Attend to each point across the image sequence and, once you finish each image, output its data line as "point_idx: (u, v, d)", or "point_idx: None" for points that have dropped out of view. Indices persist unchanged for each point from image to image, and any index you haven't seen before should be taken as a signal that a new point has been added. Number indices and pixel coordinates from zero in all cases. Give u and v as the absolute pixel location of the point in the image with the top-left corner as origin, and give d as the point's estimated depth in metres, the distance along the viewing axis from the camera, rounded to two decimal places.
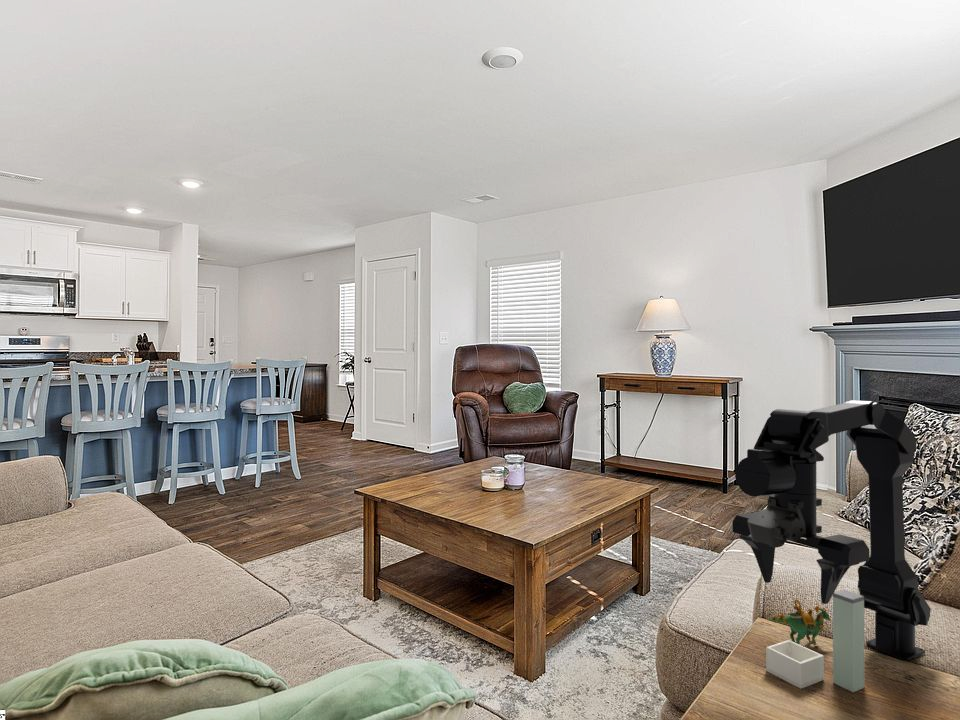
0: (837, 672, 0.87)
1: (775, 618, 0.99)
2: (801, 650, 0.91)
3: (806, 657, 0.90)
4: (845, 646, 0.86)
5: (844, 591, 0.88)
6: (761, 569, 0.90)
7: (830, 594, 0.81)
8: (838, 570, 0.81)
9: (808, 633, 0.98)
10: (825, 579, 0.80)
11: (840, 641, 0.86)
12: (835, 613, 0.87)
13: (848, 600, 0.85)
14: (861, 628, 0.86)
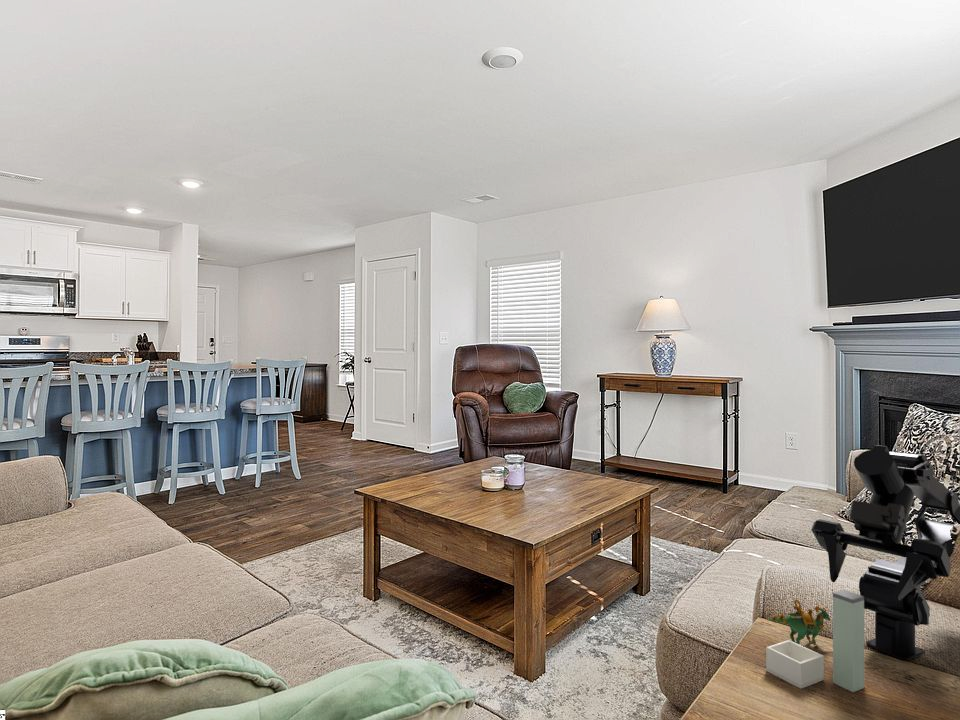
0: (837, 672, 0.87)
1: (775, 618, 0.99)
2: (801, 650, 0.91)
3: (806, 657, 0.90)
4: (845, 646, 0.86)
5: (844, 591, 0.88)
6: (831, 566, 0.95)
7: (904, 593, 0.87)
8: (916, 576, 0.88)
9: (808, 633, 0.98)
10: (907, 574, 0.87)
11: (840, 641, 0.86)
12: (835, 613, 0.87)
13: (848, 600, 0.86)
14: (861, 628, 0.86)
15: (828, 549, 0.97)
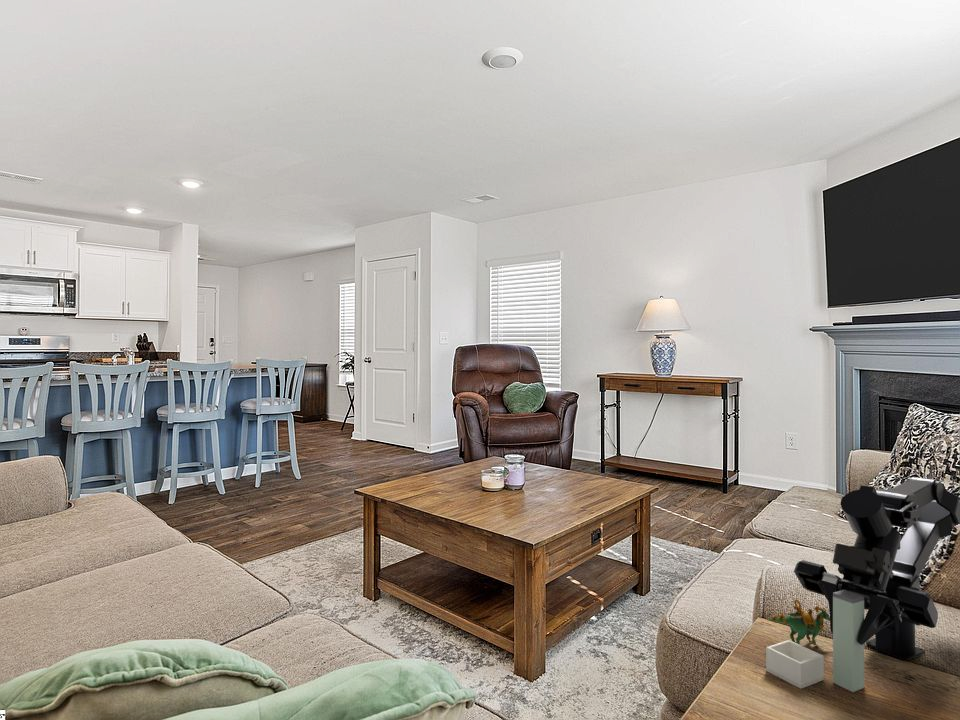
0: (837, 672, 0.87)
1: (775, 618, 0.99)
2: (801, 650, 0.91)
3: (806, 657, 0.90)
4: (845, 646, 0.86)
5: (844, 591, 0.88)
6: (832, 618, 0.89)
7: (867, 637, 0.85)
8: (880, 620, 0.86)
9: (808, 633, 0.98)
10: (870, 617, 0.85)
11: (840, 641, 0.86)
12: (835, 613, 0.87)
13: (848, 600, 0.85)
14: None
15: (829, 598, 0.91)
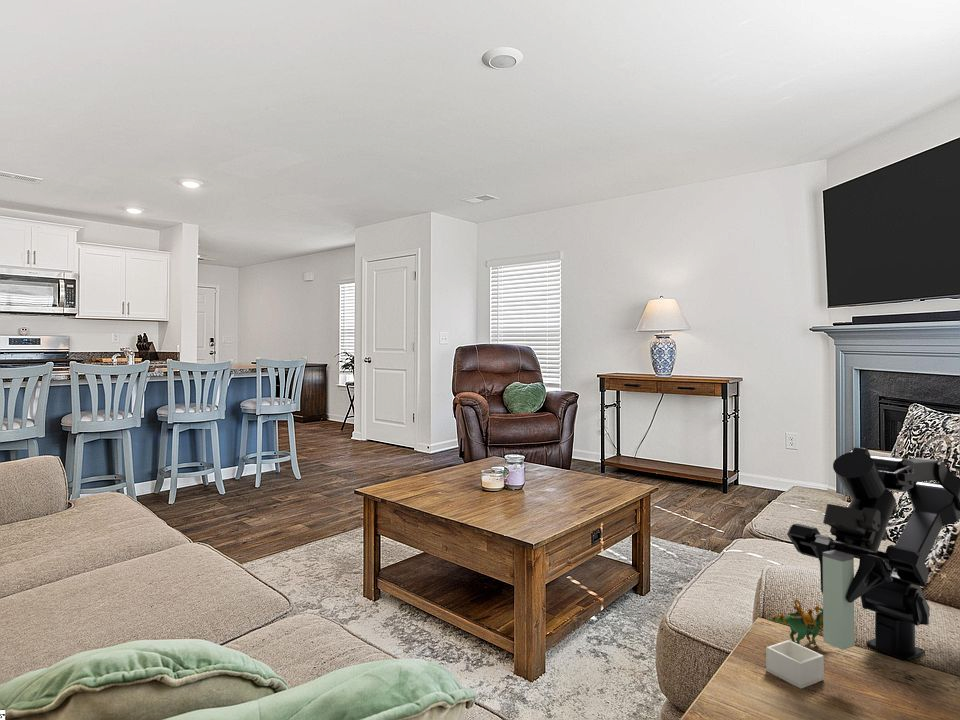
0: (827, 631, 0.87)
1: (775, 618, 0.99)
2: (801, 650, 0.91)
3: (806, 657, 0.90)
4: (835, 604, 0.86)
5: (834, 551, 0.89)
6: (822, 578, 0.89)
7: (856, 595, 0.85)
8: (870, 579, 0.87)
9: (808, 633, 0.98)
10: (859, 576, 0.86)
11: (830, 599, 0.87)
12: (825, 573, 0.88)
13: (837, 558, 0.86)
14: None
15: (820, 559, 0.91)
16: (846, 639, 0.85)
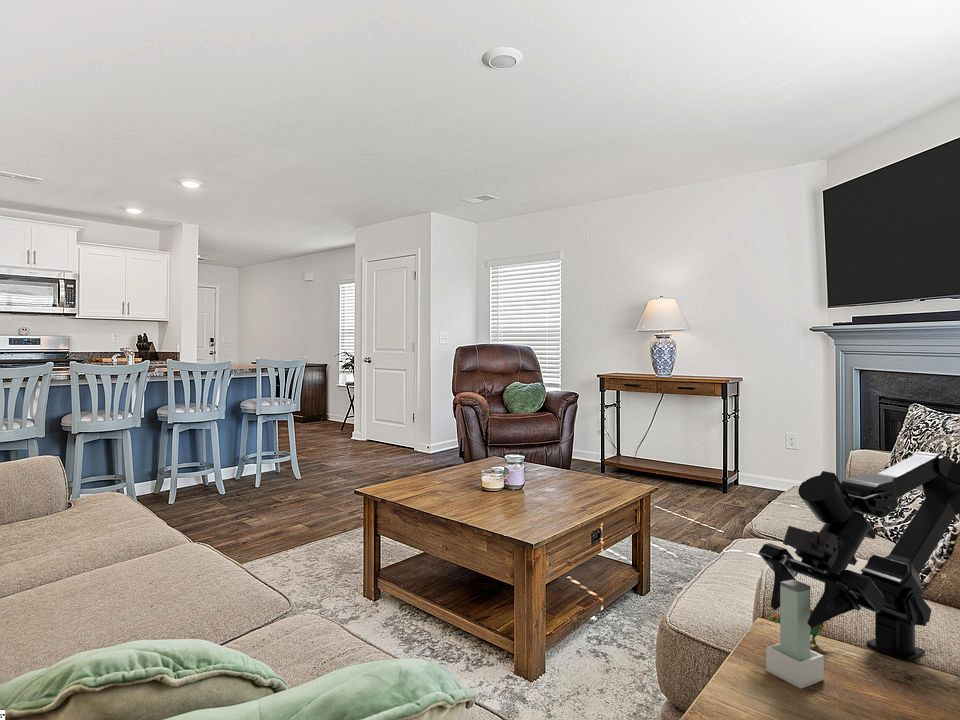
0: None
1: (775, 618, 0.99)
2: None
3: None
4: (790, 633, 0.88)
5: (792, 580, 0.91)
6: (774, 594, 0.93)
7: (819, 620, 0.86)
8: (837, 606, 0.86)
9: None
10: (823, 601, 0.86)
11: (786, 628, 0.89)
12: (782, 602, 0.90)
13: (793, 589, 0.88)
14: (806, 616, 0.88)
15: (775, 576, 0.95)
16: None
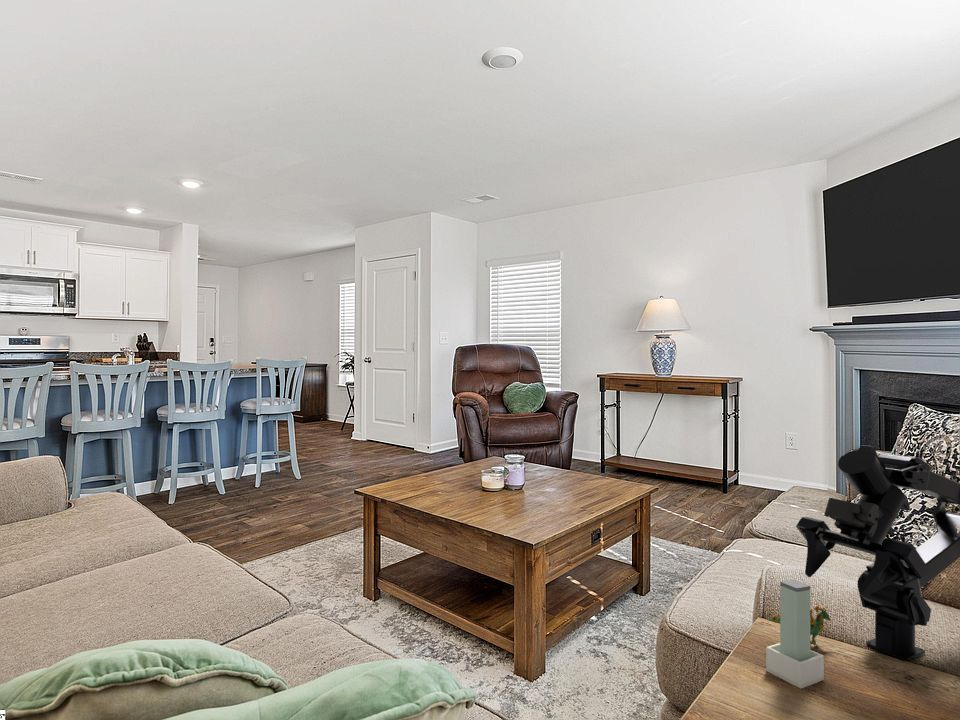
0: None
1: (775, 618, 0.99)
2: None
3: None
4: (790, 633, 0.88)
5: (792, 580, 0.91)
6: (808, 562, 0.97)
7: (870, 590, 0.88)
8: (887, 576, 0.88)
9: None
10: (874, 571, 0.88)
11: (786, 628, 0.89)
12: (782, 602, 0.90)
13: (793, 589, 0.88)
14: (806, 616, 0.88)
15: (808, 545, 0.99)
16: None
